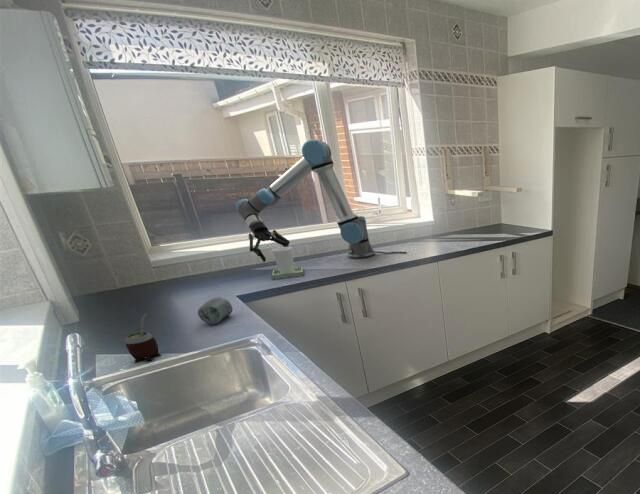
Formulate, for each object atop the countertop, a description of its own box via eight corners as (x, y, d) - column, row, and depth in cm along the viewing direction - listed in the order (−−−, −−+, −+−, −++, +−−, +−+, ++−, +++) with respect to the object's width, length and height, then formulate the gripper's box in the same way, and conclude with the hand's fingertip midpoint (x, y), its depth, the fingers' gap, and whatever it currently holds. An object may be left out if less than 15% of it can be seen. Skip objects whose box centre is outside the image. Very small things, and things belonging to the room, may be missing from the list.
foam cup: (278, 272, 222) (271, 248, 216) (297, 270, 226) (291, 246, 220) (278, 277, 214) (270, 251, 209) (297, 274, 218) (291, 249, 212)
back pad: (303, 270, 228) (302, 266, 227) (303, 275, 218) (302, 271, 217) (274, 274, 222) (272, 270, 221) (272, 279, 213) (271, 275, 212)
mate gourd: (131, 359, 132) (110, 314, 125) (162, 350, 137) (143, 307, 131) (136, 366, 127) (115, 320, 121) (168, 356, 133) (148, 312, 126)
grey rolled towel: (221, 318, 153) (204, 294, 152) (200, 330, 154) (184, 307, 153) (245, 314, 167) (230, 291, 165) (226, 325, 168) (211, 303, 166)
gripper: (279, 227, 234) (299, 257, 232) (231, 234, 217) (252, 267, 215) (281, 218, 229) (302, 248, 227) (232, 224, 212) (253, 257, 210)
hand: (278, 257), depth 221 cm, fingers open, 13 cm apart
